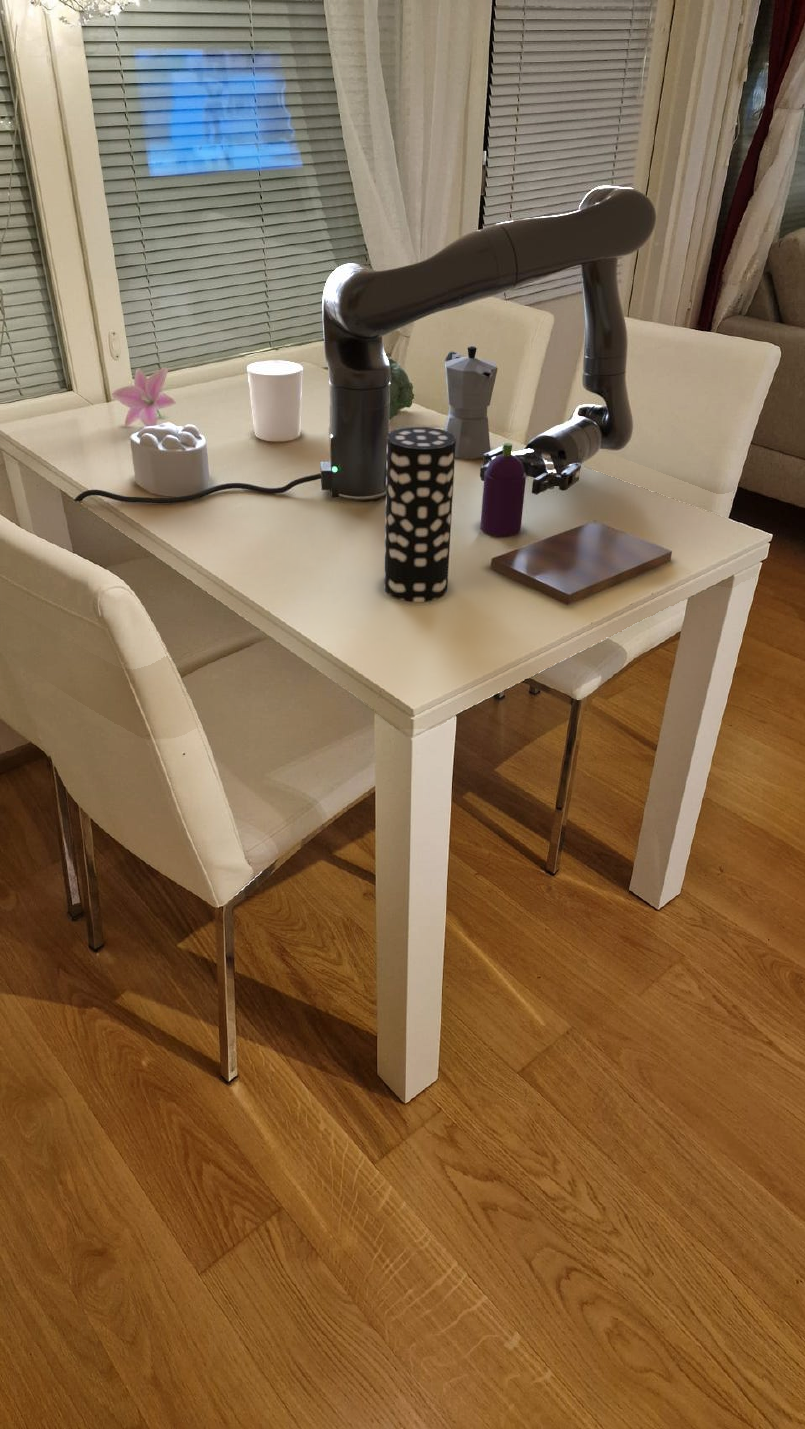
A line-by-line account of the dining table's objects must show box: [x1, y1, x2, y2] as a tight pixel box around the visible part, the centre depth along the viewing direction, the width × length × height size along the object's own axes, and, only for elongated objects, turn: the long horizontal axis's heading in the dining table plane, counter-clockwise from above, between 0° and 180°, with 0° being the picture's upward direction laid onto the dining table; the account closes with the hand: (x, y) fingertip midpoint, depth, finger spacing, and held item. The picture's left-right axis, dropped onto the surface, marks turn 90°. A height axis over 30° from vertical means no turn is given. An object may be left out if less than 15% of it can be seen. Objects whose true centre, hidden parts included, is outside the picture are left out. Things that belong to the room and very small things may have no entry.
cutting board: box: [490, 520, 673, 606], centre depth 136 cm, size 22×14×2 cm, turn 131°
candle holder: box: [246, 360, 304, 443], centre depth 177 cm, size 10×10×12 cm
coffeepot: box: [443, 345, 498, 460], centre depth 171 cm, size 15×9×18 cm, turn 25°
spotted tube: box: [383, 426, 456, 603], centre depth 124 cm, size 8×8×20 cm
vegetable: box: [386, 356, 415, 422], centre depth 188 cm, size 12×13×15 cm
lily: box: [111, 366, 177, 427], centre depth 182 cm, size 12×12×10 cm
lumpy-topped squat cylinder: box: [129, 422, 211, 498], centre depth 156 cm, size 10×13×9 cm
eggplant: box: [479, 442, 527, 538], centre depth 143 cm, size 6×6×13 cm
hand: (508, 481), depth 143 cm, fingers open, 8 cm apart
